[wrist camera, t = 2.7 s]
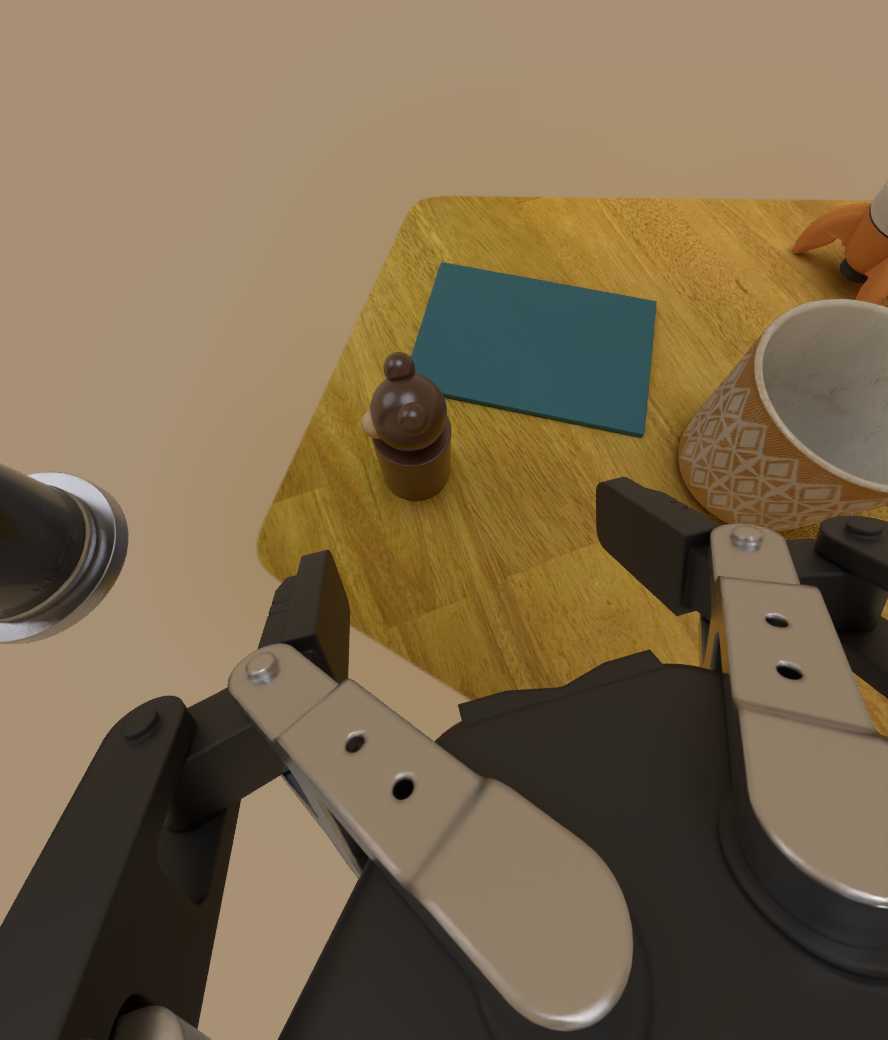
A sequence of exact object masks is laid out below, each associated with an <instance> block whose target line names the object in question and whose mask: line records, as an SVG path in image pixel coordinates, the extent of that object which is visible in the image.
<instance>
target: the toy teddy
mask: <svg viewBox="0 0 888 1040" xmlns="http://www.w3.org/2000/svg"><path fill="white" fill-rule="evenodd" d="M384 374H385V376H386V378H387V379H386V380H384V381H383V382H382V383H381V384H380V385H379V386H378V388H377V389H376V391H375V392H374V395H373V397H372V400H371V405H370V410H369V411H367V412H366V413H365V415H364V417H363V419H362V427H363V429H364V431H365V433H366V434H367V435H368V436H370V437H372V442H373V445H374V448H375V451H376V454H377V457H378V461H379V464H380V467H381V470H382V473H383V476H384V479H385V482H386V484H387V486H388V487H389V489H390V490H391V491H392V492H393V493H395V494H396V495H398V496H399V497H401V498H404V499H407V500H415V501H417V500H424V499H428V498H430V497H432V496H434V495H436V494H437V493H438V492H440V491H441V490H442V489H443V487H444V486H445V484H446V482H447V480H448V477H449V471H450V448H451V425H450V421H449V418H448V416H447V407H446V402H445V399H444V396H443V394H442V392H441V391H440V389H439V388H438V386H437V385H436V384H435V383H434V382H433V381H431V380H430V379H429V378H427V377H425V376H423V375H420V374H417V373H415V364H414V362H413V360H412V358H411V357H410V356H409V355H407V354H405V353H402V352H395V353H392V354H391V355H389V356H388V357H387V359H386V360H385V363H384Z"/></svg>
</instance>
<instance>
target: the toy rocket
mask: <svg viewBox="0 0 888 1040" xmlns="http://www.w3.org/2000/svg"><path fill="white" fill-rule="evenodd" d="M836 238H838V239H840V240H841V241H842V245H843V246H845V247H846V249H845V255H846V258H845V259H844V260H843V262H842V263H841V264H840V271H841V273H842V275H843V276H844V277H845V278H847V279H848V280H850V281H853V282H856V283H864V284H863V286H862V287H861V289H860V290H859V292H858V294H857V296H856V298H855V300H859V301H865V302H870V303H874V304H878V305H880V304H881V303H882V302H883V301H884V300H885V299H886V298H887V297H888V181H887V182H886V184H885V185H884V186H883V188H882V189H881V190H880V191H879V193H878V194H877V196H876V197H875V199H874V200H873V202H872V203H871V204H867V203H859V204H850V205H845V206H841V207H839V208H836V209H833V210H831V211H829V212H827V213H825V214H824V215H822V216H820V217H819V218H818V219H816V220H815V221H814V222H812V223H811V224H810V225H809V226H808V227H807V228H806V229H805V230H804V232H803V233H802V234H801V236H800V237H799V239H798V240H797V241H796V244H795V247H794V250H793V252H794V253H796V254H798V253H802V252H805V251H808V250H812V249H815V248H818V247H822V246H825V245H828V244H830V243H831V242H833V241H834V240H835V239H836Z"/></svg>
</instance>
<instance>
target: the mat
mask: <svg viewBox="0 0 888 1040" xmlns="http://www.w3.org/2000/svg"><path fill="white" fill-rule="evenodd" d="M655 313H656V301H651V300H646V299H640V298H635V297H630V296H624V295H619V294H613V293H608V292H602V291H597V290H591V289H586V288H580V287H575V286H569V285H564V284H558V283H553V282H547V281H542V280H536V279H531V278H526V277H520V276H515V275H509V274H504V273H498V272H493V271H487V270H482V269H476V268H471V267H465V266H460V265H454V264H449V263H443V262H441V265H440V268H439V271H438V274H437V277H436V280H435V283H434V287H433V290H432V293H431V296H430V299H429V302H428V306H427V309H426V312H425V315H424V318H423V321H422V325H421V328H420V331H419V334H418V337H417V340H416V344H415V347H414V350H413V353H412V356H411V358H412V360H413V362H414V364H415V373H417V374H420V375H423V376H425V377H427V378H429V379H430V380H431V381H433V382H434V383H435V384H436V385H437V386H438V388H439V389H440V391H441V392H442V394H443V396H444V397H447V398H452V399H457V400H462V401H466V402H471V403H476V404H481V405H486V406H491V407H496V408H501V409H505V410H510V411H515V412H520V413H525V414H530V415H535V416H540V417H544V418H549V419H554V420H559V421H564V422H569V423H574V424H579V425H583V426H588V427H593V428H598V429H603V430H608V431H613V432H618V433H622V434H627V435H632V436H637V437H642V436H643V435H644V431H645V420H646V409H647V399H648V388H649V377H650V367H651V356H652V345H653V335H654V324H655Z"/></svg>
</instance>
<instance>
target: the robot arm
mask: <svg viewBox="0 0 888 1040" xmlns="http://www.w3.org/2000/svg"><path fill="white" fill-rule="evenodd" d="M596 528H597V535H598V539H599V541H600V543H601V545H602V547H603V548H604V549H605V550H606V551H607V552H608V553H609V554H610V555H611V556H612V557H614V558H615V559H616V560H617V561H618V562H619V563H620V564H621V565H622V566H623V567H624V568H625V569H626V570H628V571H629V572H630V573H631V574H632V575H633V576H634V577H635V578H636V579H637V580H638V581H639V582H640V583H642V584H643V585H644V586H645V587H646V588H647V589H648V590H649V591H650V592H651V593H652V594H653V595H654V596H656V597H657V598H658V599H659V600H660V601H661V602H662V603H663V604H664V605H665V606H666V607H667V608H668V609H670V610H671V611H672V612H673V613H674V614H675V615H676V616H679V615H683V614H686V613H690V612H693V611H698V612H699V613H700V618H699V654H700V667H697V666H691V665H683V664H662V663H661V662H660V661H659V659H658V658H657V657H656V656H655V655H654V654H653V653H652V652H651V650H646V651H643V652H639V653H636V654H632V655H629V656H625V657H622V658H619V659H615V660H612V661H608V662H605V663H603V664H601V665H599V666H597V667H596V668H594V669H592V670H591V671H589V672H587V673H585V674H584V675H582V676H580V677H579V678H577V679H575V680H574V681H572V682H570V683H568V684H567V685H565V686H562V687H558V688H543V689H526V690H510V691H504V692H500V693H497V694H493V695H490V696H486V697H483V698H479V699H476V700H472V701H469V702H465V703H462V704H459V705H458V707H459V711H460V715H461V719H462V721H461V722H459V723H457V724H456V725H454V726H453V727H451V728H450V729H448V730H447V731H446V732H444V733H443V734H442V735H441V736H440V737H439V738H438V739H437V740H436V741H433V740H431V739H430V738H429V737H427V736H426V735H425V734H423V733H422V732H421V731H420V730H418V729H417V728H415V727H414V726H413V725H412V724H410V723H409V722H408V721H406V720H405V719H404V718H402V717H401V716H400V715H398V714H397V713H396V712H395V711H393V710H392V709H390V708H389V707H388V706H387V705H385V704H384V703H383V702H381V701H380V700H379V699H378V698H376V697H375V696H374V695H372V694H371V693H370V692H368V691H367V690H366V689H364V688H363V687H362V686H360V685H359V684H358V683H356V682H355V681H354V680H351V679H349V678H348V663H349V632H350V609H349V603H348V599H347V595H346V592H345V589H344V587H343V584H342V581H341V578H340V575H339V573H338V570H337V567H336V564H335V562H334V559H333V556H332V554H331V552H330V551H329V550H325V551H321V552H317V553H313V554H309V555H305V556H302V557H301V561H300V565H299V569H298V573H297V575H296V576H292V577H288V578H286V579H285V580H284V582H283V583H282V584H281V585H280V586H279V587H278V589H277V590H276V591H275V595H274V598H273V601H272V606H271V608H270V611H269V616H268V617H267V621H266V624H265V627H264V630H263V633H262V637H261V640H260V643H259V647H258V650H256V651H254V652H253V653H251V654H249V655H248V656H247V657H245V658H244V659H243V660H242V661H241V662H240V663H239V664H238V665H237V666H236V667H235V668H234V670H233V671H232V673H231V675H230V677H229V679H228V687H227V688H226V689H224V690H222V691H220V692H218V693H217V694H215V695H212V696H210V697H208V698H206V699H205V700H203V701H201V702H199V703H197V704H195V705H193V706H191V707H189V708H187V707H186V706H185V704H184V703H183V701H182V700H181V699H180V698H178V697H175V696H162V697H159V698H155V699H153V700H150V701H148V702H146V703H144V704H142V705H140V706H138V707H137V708H135V709H134V710H132V711H131V712H129V713H128V714H127V715H125V716H124V717H123V718H122V719H121V720H119V721H118V722H117V723H116V724H115V725H114V726H113V727H112V729H111V730H110V731H109V733H108V734H107V735H106V737H105V738H104V740H103V742H102V743H101V745H100V747H99V749H98V751H97V752H96V754H95V756H94V758H93V760H92V762H91V763H90V765H89V767H88V769H87V771H86V772H85V774H84V776H83V778H82V780H81V782H80V783H79V785H78V787H77V789H76V791H75V792H74V794H73V796H72V798H71V800H70V802H69V803H68V805H67V807H66V809H65V810H64V812H63V814H62V816H61V818H60V820H59V821H58V823H57V825H56V827H55V829H54V830H53V832H52V834H51V836H50V838H49V839H48V841H47V843H46V845H45V847H44V849H43V850H42V852H41V854H40V856H39V858H38V859H37V861H36V863H35V865H34V867H33V868H32V870H31V872H30V874H29V876H28V878H27V879H26V881H25V883H24V885H23V887H22V889H21V890H20V892H19V894H18V896H17V898H16V899H15V901H14V903H13V905H12V907H11V908H10V910H9V912H8V914H7V916H6V918H5V919H4V921H3V923H2V925H1V926H0V1040H211V1039H210V1038H209V1037H207V1036H206V1035H204V1034H203V1033H201V1032H200V1031H199V1030H197V1029H198V1023H199V1018H200V1013H201V1007H202V1002H203V997H204V992H205V987H206V981H207V975H208V971H209V965H210V960H211V955H212V950H213V944H214V939H215V934H216V929H217V923H218V918H219V913H220V908H221V902H222V897H223V892H224V887H225V881H226V876H227V871H228V865H229V860H230V855H231V850H232V845H233V839H234V834H235V829H236V824H237V818H238V813H239V808H240V802H241V799H242V798H244V797H245V796H247V795H249V794H250V793H252V792H253V791H255V790H257V789H258V788H260V787H262V786H263V785H265V784H267V783H268V782H270V781H272V780H273V779H275V778H277V777H278V776H280V775H281V777H282V778H283V779H284V781H285V782H286V783H287V785H288V786H289V787H290V788H291V790H292V791H293V792H294V793H295V794H296V796H297V797H298V798H299V800H300V801H301V802H302V804H303V805H304V806H305V807H306V809H307V810H308V811H309V812H310V814H311V815H312V816H313V818H314V819H315V820H316V821H317V823H318V824H319V825H320V826H321V828H322V829H323V830H324V832H325V833H326V834H327V836H328V837H329V838H330V840H331V841H332V843H333V844H334V846H335V847H336V849H337V850H338V852H339V853H340V855H341V856H342V857H343V859H344V860H345V861H346V863H347V864H348V866H349V867H350V868H351V870H352V871H353V872H354V874H355V875H356V876H357V878H358V881H357V883H356V885H355V887H354V889H353V891H352V893H351V895H350V897H349V899H348V901H347V904H346V905H345V907H344V909H343V911H342V913H341V915H340V917H339V919H338V921H337V923H336V925H335V927H334V929H333V931H332V933H331V935H330V937H329V939H328V941H327V943H326V945H325V947H324V949H323V951H322V953H321V955H320V957H319V959H318V961H317V963H316V965H315V967H314V969H313V971H312V973H311V975H310V977H309V979H308V981H307V983H306V985H305V987H304V989H303V991H302V993H301V995H300V997H299V999H298V1001H297V1003H296V1004H295V1007H294V1008H293V1010H292V1012H291V1014H290V1017H289V1018H288V1020H287V1022H286V1024H285V1026H284V1028H283V1030H282V1032H281V1034H280V1036H279V1038H278V1040H888V737H886V736H884V735H881V734H879V733H878V731H877V730H876V729H875V727H874V725H873V723H872V721H871V718H870V716H869V713H868V710H867V708H866V705H865V703H864V700H863V698H862V695H861V693H860V690H859V688H858V685H857V683H856V680H855V678H854V675H853V673H852V672H854V673H855V674H856V675H857V676H859V677H860V678H861V679H863V680H864V681H865V682H867V683H868V684H869V685H871V686H872V687H873V688H874V689H876V690H877V691H878V692H880V693H881V694H882V695H884V696H885V697H886V698H888V620H886V619H885V618H883V617H882V616H881V613H882V611H883V608H884V606H885V603H886V601H887V598H888V522H886V521H882V520H878V519H874V518H868V517H861V516H836V517H831V518H828V519H826V520H824V521H823V522H821V524H820V527H819V531H818V535H817V539H801V540H784V538H783V537H782V536H781V535H780V534H778V533H777V532H775V531H773V530H771V529H768V528H765V527H762V526H758V525H753V524H744V523H734V524H726V525H720V524H719V523H717V522H715V521H713V520H711V519H710V518H708V517H706V516H704V515H703V514H701V513H699V512H697V511H695V510H694V509H692V508H688V506H687V505H685V504H683V503H681V502H677V500H676V499H674V498H672V497H671V496H669V495H667V494H665V493H663V492H659V491H656V490H652V489H648V488H644V487H643V486H641V485H639V484H637V483H636V482H634V481H632V480H631V479H629V478H627V477H621V478H617V479H613V480H609V481H605V482H601V483H599V484H598V485H597V488H596ZM95 544H96V527H95V522H94V518H93V516H92V514H91V512H90V510H89V508H88V507H87V506H86V504H85V503H84V502H83V501H82V500H81V499H79V498H78V497H77V496H75V495H73V494H71V493H69V492H67V491H65V490H63V489H60V488H58V487H55V486H51V485H47V484H45V483H43V482H41V481H38V480H36V479H34V478H31V477H29V476H27V475H25V474H22V473H20V472H19V471H16V470H14V469H12V468H9V467H7V466H5V465H3V464H0V623H7V622H15V621H20V620H23V619H27V618H30V617H32V616H35V615H37V614H39V613H41V612H43V611H45V610H47V609H48V608H50V607H52V606H53V605H55V604H56V603H57V602H59V601H60V600H61V599H62V598H64V597H65V596H66V595H67V594H68V593H69V592H70V591H71V590H72V589H73V588H74V587H75V585H76V584H77V583H78V582H79V580H80V579H81V578H82V576H83V575H84V573H85V571H86V569H87V568H88V566H89V563H90V561H91V559H92V556H93V553H94V549H95Z"/></svg>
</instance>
